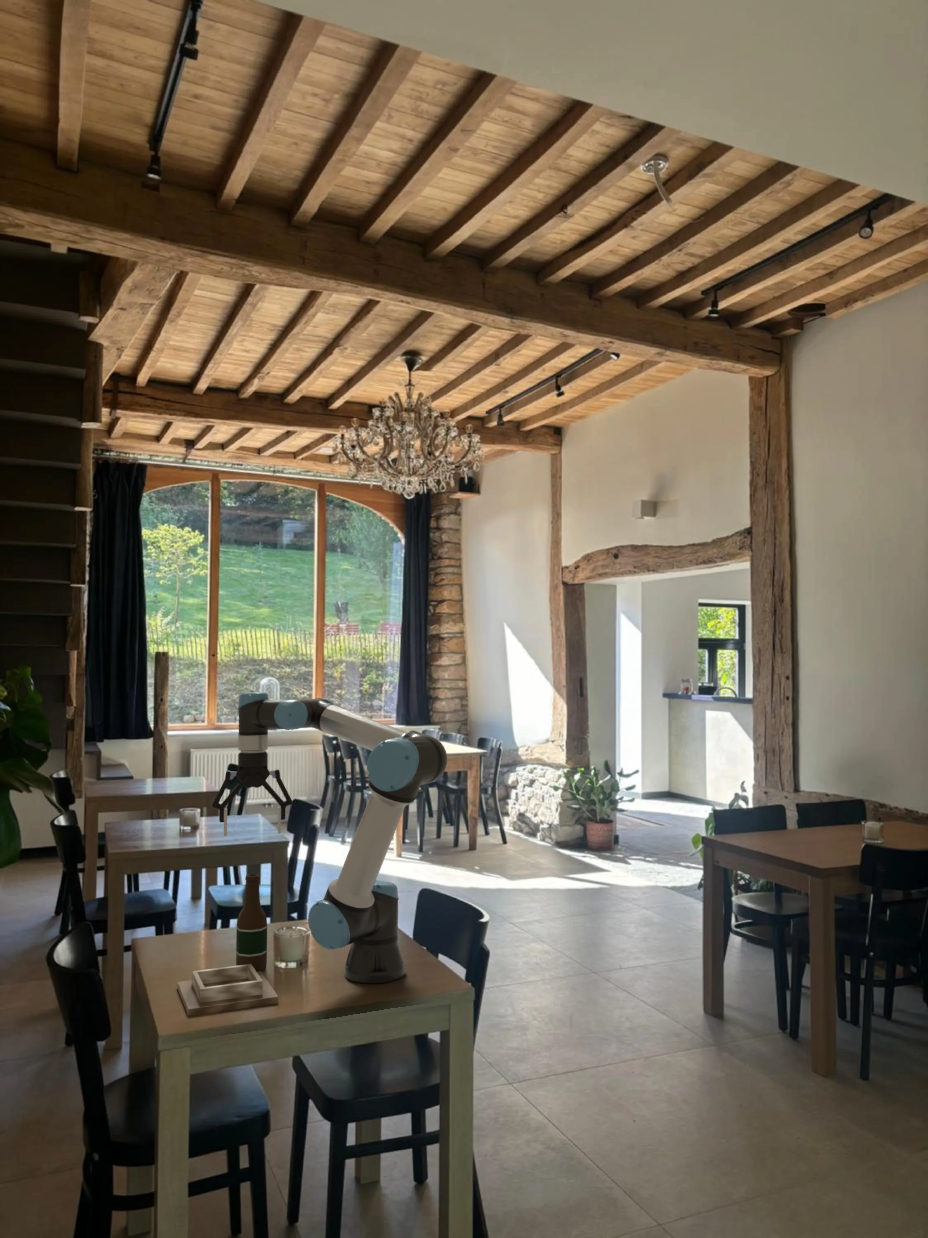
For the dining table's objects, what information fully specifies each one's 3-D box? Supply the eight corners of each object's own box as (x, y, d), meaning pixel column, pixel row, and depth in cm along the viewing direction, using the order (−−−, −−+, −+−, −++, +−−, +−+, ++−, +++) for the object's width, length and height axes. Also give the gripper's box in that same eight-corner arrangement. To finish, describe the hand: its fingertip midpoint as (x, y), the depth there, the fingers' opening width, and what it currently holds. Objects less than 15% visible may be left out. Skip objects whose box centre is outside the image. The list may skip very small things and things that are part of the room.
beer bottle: (264, 974, 232) (265, 878, 234) (233, 975, 231) (234, 878, 233) (268, 965, 240) (269, 871, 241) (238, 965, 239) (239, 872, 241)
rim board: (260, 977, 230) (260, 959, 230) (278, 1003, 211) (278, 983, 212) (177, 988, 222) (177, 969, 222) (188, 1016, 203) (188, 995, 204)
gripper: (300, 749, 246) (300, 829, 244) (204, 751, 240) (203, 833, 239) (302, 751, 239) (302, 834, 237) (202, 753, 233) (201, 838, 232)
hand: (252, 834), depth 238 cm, fingers open, 13 cm apart
